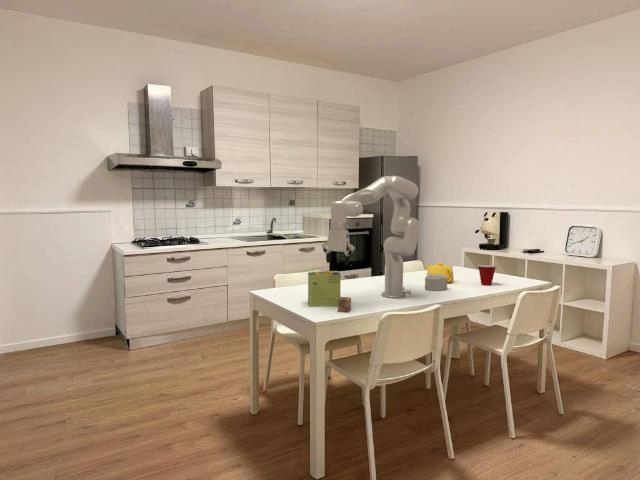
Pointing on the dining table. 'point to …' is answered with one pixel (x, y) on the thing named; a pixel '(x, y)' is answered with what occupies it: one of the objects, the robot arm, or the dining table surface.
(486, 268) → the plastic cup
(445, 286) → the lumpy-topped squat cylinder
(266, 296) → the dining table surface
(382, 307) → the dining table surface
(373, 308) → the dining table surface
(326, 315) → the dining table surface
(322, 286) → the protein box
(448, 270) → the teapot
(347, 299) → the walnut block
